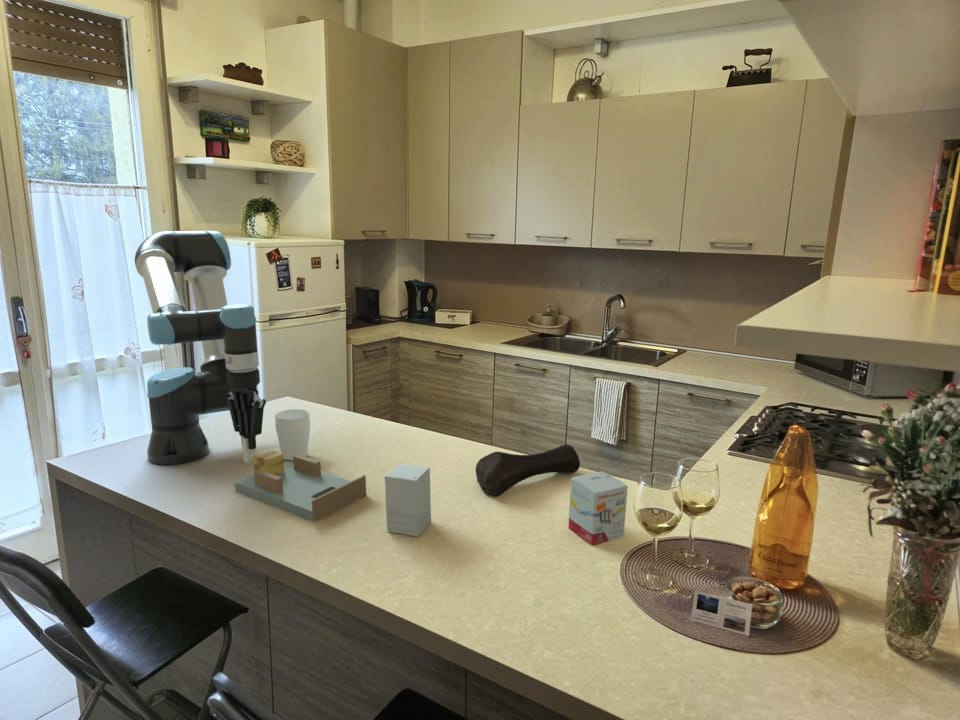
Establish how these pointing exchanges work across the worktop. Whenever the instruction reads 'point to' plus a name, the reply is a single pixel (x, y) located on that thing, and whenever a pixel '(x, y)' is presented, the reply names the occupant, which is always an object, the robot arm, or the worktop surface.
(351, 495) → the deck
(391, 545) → the worktop surface
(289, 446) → the cup
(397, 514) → the supplement box
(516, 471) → the dark brown bone
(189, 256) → the robot arm
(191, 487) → the worktop surface
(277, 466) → the ochre block
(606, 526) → the ink box
